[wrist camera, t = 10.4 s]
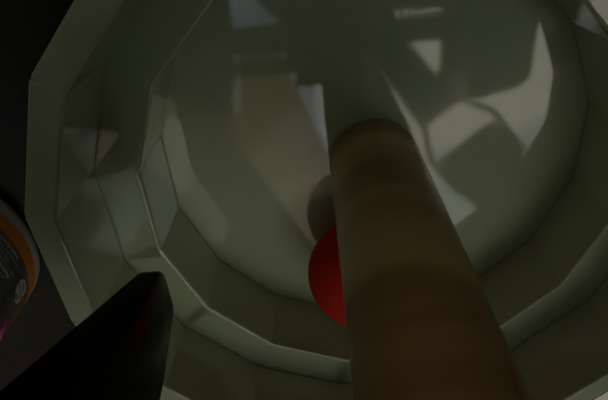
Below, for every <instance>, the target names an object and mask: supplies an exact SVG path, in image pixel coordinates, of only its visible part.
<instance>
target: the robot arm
mask: <svg viewBox="0 0 608 400" xmlns="http://www.w3.org/2000/svg"><path fill="white" fill-rule="evenodd" d="M172 321H173V303H172V299H171V296H170V292H169V289H168V285H167V282H166V278H165V276H164V274H163V273H162V272H160V271H150V272H141V273H139V274H137V275H136V276H135V277H134V278H133V279H132V280H130V281H129V282H128V283H127V284H126V285H124V286H123V287H122V288H121V289H120V290H119V291H117V292H116V293H115V294H114V295H113V296H112V297H110V298H109V299H108V300H107V301H106V302H105V303H103V304H102V305H101V306H100V307H99V308H97V309H96V310H95V311H94V312H93V313H92V314H90V315H89V316H88V317H87V318H86V319H85V320H83V321H82V322H81V323H80V324H79V325H78V326H76V327H75V328H74V329H73V330H72V331H71V332H69V333H68V334H67V335H66V336H65V337H63V338H62V339H61V340H60V341H59V342H58V343H56V344H55V345H54V346H53V347H52V348H51V349H49V350H48V351H47V352H46V353H45V354H44V355H42V356H41V357H40V358H39V359H38V360H37V361H35V362H34V363H33V364H32V365H31V366H29V367H28V368H27V369H26V370H25V371H24V372H22V373H21V374H20V375H19V376H18V377H17V378H15V379H14V380H13V381H12V382H11V383H10V384H8V385H7V386H6V387H5V388H4V389H2V390H1V391H0V400H160V397H161V392H162V388H163V382H164V376H165V369H166V362H167V355H168V348H169V341H170V334H171V327H172Z"/></svg>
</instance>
